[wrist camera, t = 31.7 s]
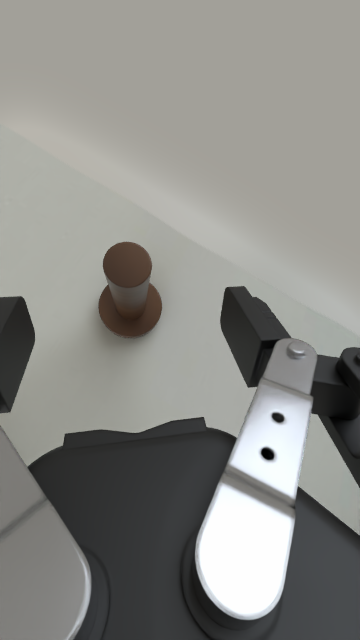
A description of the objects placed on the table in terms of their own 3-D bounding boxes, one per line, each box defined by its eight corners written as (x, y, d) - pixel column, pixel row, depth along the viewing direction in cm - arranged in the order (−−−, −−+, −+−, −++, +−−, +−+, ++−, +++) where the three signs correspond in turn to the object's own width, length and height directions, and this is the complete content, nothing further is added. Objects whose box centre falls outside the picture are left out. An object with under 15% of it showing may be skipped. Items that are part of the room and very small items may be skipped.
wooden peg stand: (128, 268, 24) (123, 195, 14) (172, 306, 24) (200, 261, 14) (87, 311, 23) (48, 266, 13) (133, 350, 23) (132, 338, 13)
